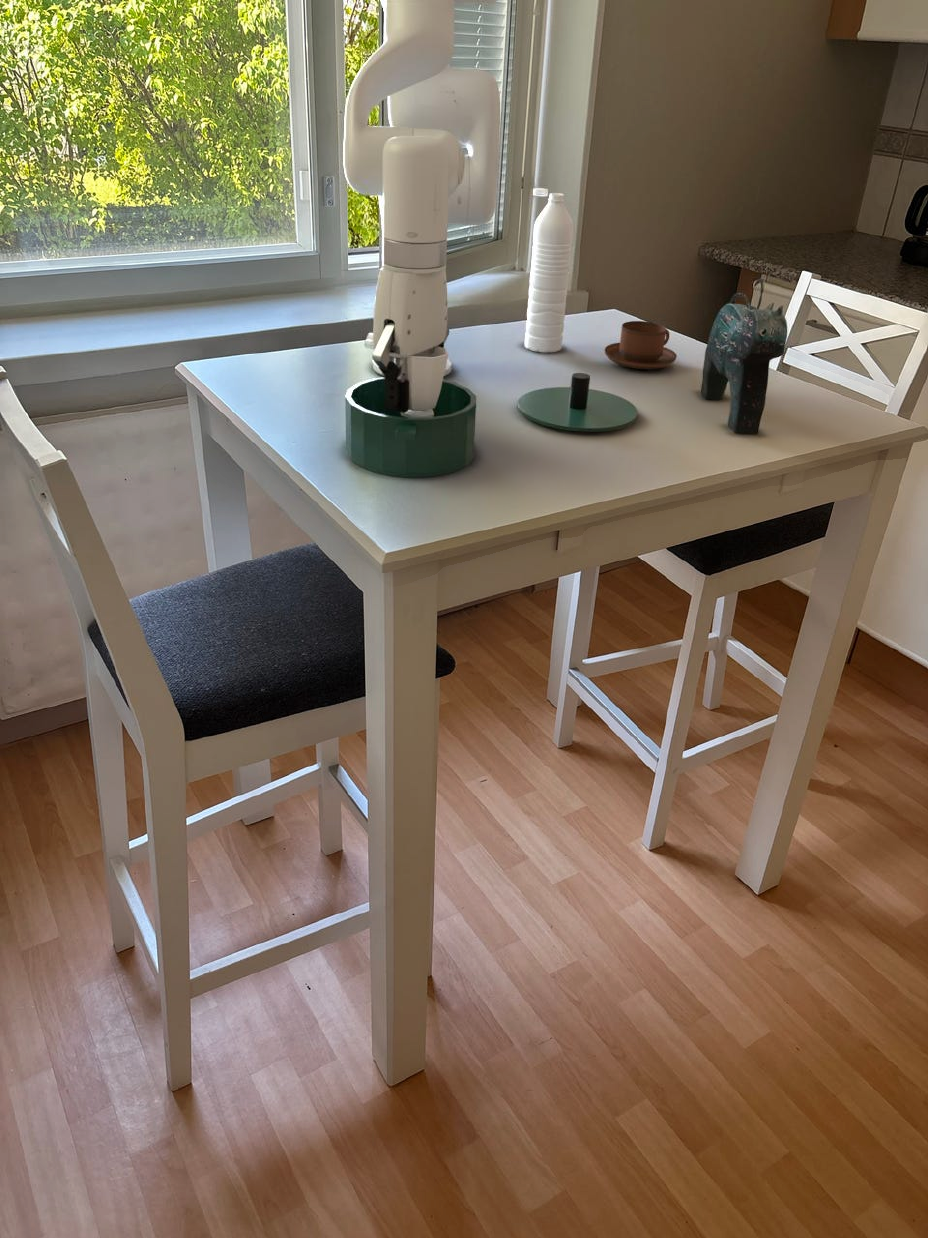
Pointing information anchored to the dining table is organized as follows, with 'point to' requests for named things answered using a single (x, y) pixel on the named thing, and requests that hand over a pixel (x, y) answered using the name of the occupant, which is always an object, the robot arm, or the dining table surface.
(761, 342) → the ceramic cat
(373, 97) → the robot arm
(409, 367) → the cup
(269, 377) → the dining table surface
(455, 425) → the pot
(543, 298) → the water bottle
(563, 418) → the pot lid
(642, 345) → the cup and saucer
